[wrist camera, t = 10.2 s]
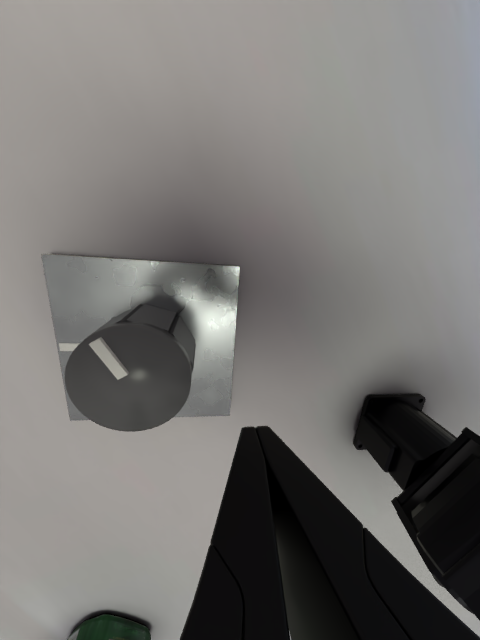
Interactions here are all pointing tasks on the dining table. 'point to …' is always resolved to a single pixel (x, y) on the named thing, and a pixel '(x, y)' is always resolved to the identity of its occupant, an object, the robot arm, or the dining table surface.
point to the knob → (133, 370)
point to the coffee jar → (110, 629)
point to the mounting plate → (156, 290)
